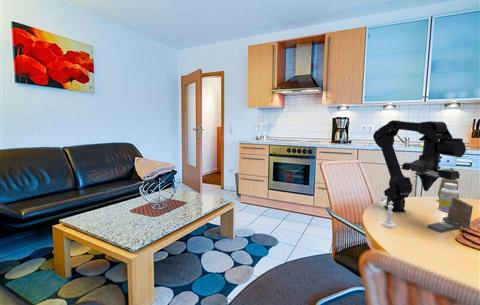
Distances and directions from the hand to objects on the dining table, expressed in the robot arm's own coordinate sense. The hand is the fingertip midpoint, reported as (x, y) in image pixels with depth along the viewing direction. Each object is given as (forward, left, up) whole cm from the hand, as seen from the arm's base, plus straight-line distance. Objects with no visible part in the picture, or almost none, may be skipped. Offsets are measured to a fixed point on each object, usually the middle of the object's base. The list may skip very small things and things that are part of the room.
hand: (425, 190), depth 102 cm
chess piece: (-17, -5, -13) cm, 22 cm away
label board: (+6, -4, -13) cm, 15 cm away
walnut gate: (+11, -5, -11) cm, 16 cm away
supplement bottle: (+22, +13, -13) cm, 29 cm away
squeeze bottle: (+32, +25, -13) cm, 43 cm away
